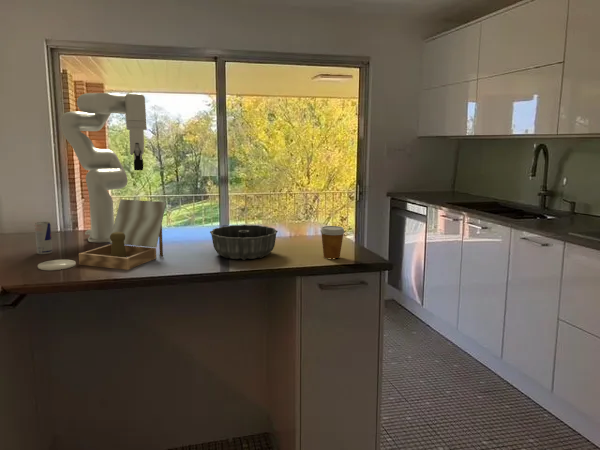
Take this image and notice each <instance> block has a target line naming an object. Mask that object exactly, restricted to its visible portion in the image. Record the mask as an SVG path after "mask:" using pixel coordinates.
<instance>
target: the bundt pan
mask: <svg viewBox="0 0 600 450" xmlns="http://www.w3.org/2000/svg"><path fill="white" fill-rule="evenodd" d="M209 233H210V235H211V240H212V245H213V248H214V251H215V252H216V253H217V254H218V255H219V256H221V257H223V258H226V259H228V258H230V259H233V260H240V259H242V260H243V261H245V260H247V259H249V260H254V259H257V258H258V259H261V258H264V257H265V256H268V255H269V254H270V253H271V252H272V251H273V249H274V248H275V245H276V238H277V234H278V230H277V229H276V228H274V227H271V226H270V227H269V226H267V225H266V226H265V225H257V224H249V225H248V224H240V225H239V224H238V225H236V224H235V225H227V226H220V227H216V228H213V229H212V230H210V231H209Z"/></svg>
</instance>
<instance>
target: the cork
mask: <svg viewBox="0 0 600 450" xmlns="http://www.w3.org/2000/svg"><path fill="white" fill-rule="evenodd" d="M110 239H111V241H112V243H111V244H112V248H111V255H110V256H116V257H126V258H127V257H128V256H127V255H126V250H125V244H124V240H125V234H124V233H123V232H114V233H112V234H111V235H110Z"/></svg>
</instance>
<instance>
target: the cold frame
mask: <svg viewBox="0 0 600 450" xmlns="http://www.w3.org/2000/svg"><path fill="white" fill-rule="evenodd" d="M118 204H119V205H118V208H117V212H116V215H115V219H114V228H113V232H112V233H114V232H123V233H124V234H125V240H124V244H125V250H126V255H127V258H126V257H116V256H111V248H112V241H110V242H109V244H106V245H103V246H99V247H96V248H93V249H90V250H87V251H83V252H79V253H78V265H80V266H81V265H82V266H90V267H99V268H107V269H108V268H110V269H118V270H119V269H120V270H126V271H129V270H131V269H134V268H136V267H138V266H141V265H143V264H146V263H148V262H150V261H154V260H156V259H157V247H158V246H159V247H158V248H159V256H161V257H163V256H164V254H163V253H164V249H163V248H164V247H163V246H164V245H163V243H164V242H163V220H164V215H165V209H166V205H167V202H166V201H154V200H152V201H151V200H140V199H139V200H138V199H137V200H136V199H123V198H122V199H120V200H119V203H118ZM158 244H159V245H158Z"/></svg>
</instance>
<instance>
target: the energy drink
mask: <svg viewBox="0 0 600 450" xmlns="http://www.w3.org/2000/svg"><path fill="white" fill-rule="evenodd" d="M34 231H35V232H34V233H35V243H36V244H35V245H36V253H37V255H49V254H51V253H53V243H52V242H53V241H52V225H51V223H50V221H38V222H35V225H34Z"/></svg>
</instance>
